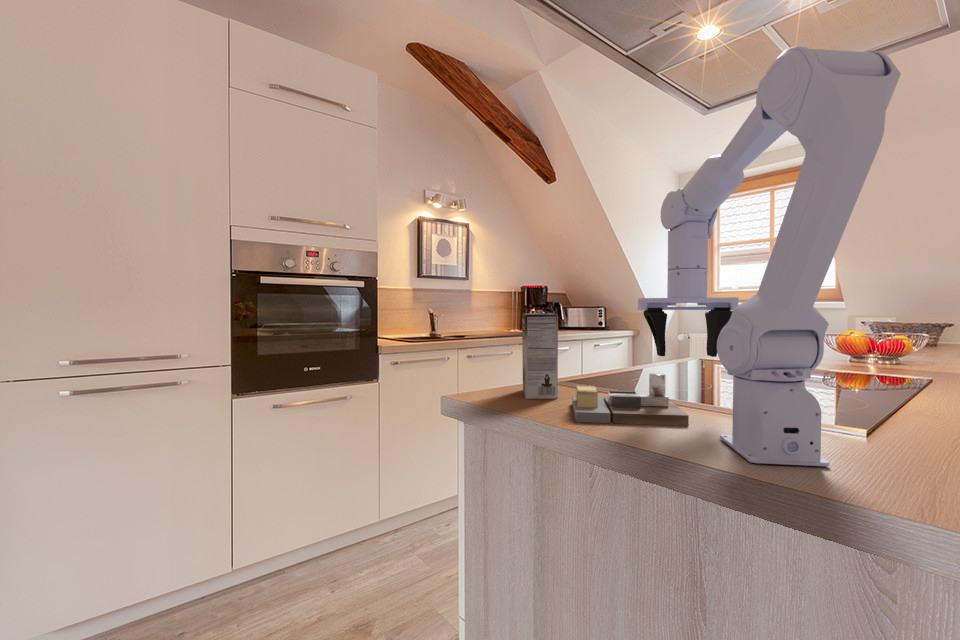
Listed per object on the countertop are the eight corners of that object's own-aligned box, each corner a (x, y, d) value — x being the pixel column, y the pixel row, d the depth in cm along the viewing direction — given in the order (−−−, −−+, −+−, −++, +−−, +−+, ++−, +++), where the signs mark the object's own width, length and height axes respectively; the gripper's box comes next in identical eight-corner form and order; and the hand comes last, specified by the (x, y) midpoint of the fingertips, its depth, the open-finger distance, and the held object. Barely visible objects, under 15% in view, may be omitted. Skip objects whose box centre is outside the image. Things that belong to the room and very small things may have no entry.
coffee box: (521, 389, 92) (521, 312, 92) (552, 389, 92) (552, 312, 91) (525, 399, 83) (524, 313, 82) (559, 399, 83) (559, 313, 82)
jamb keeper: (610, 423, 66) (610, 396, 66) (576, 421, 67) (576, 395, 67) (601, 404, 78) (601, 382, 78) (572, 404, 79) (572, 381, 79)
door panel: (688, 425, 64) (688, 403, 64) (613, 423, 66) (613, 401, 66) (667, 406, 76) (667, 387, 76) (603, 404, 78) (603, 386, 78)
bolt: (668, 406, 69) (669, 375, 69) (609, 405, 71) (609, 374, 70) (665, 403, 72) (665, 373, 71) (607, 401, 73) (607, 372, 73)
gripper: (725, 270, 73) (724, 353, 73) (634, 272, 75) (633, 352, 75) (745, 267, 66) (743, 358, 66) (644, 269, 68) (643, 357, 68)
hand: (686, 355), depth 70 cm, fingers open, 7 cm apart
